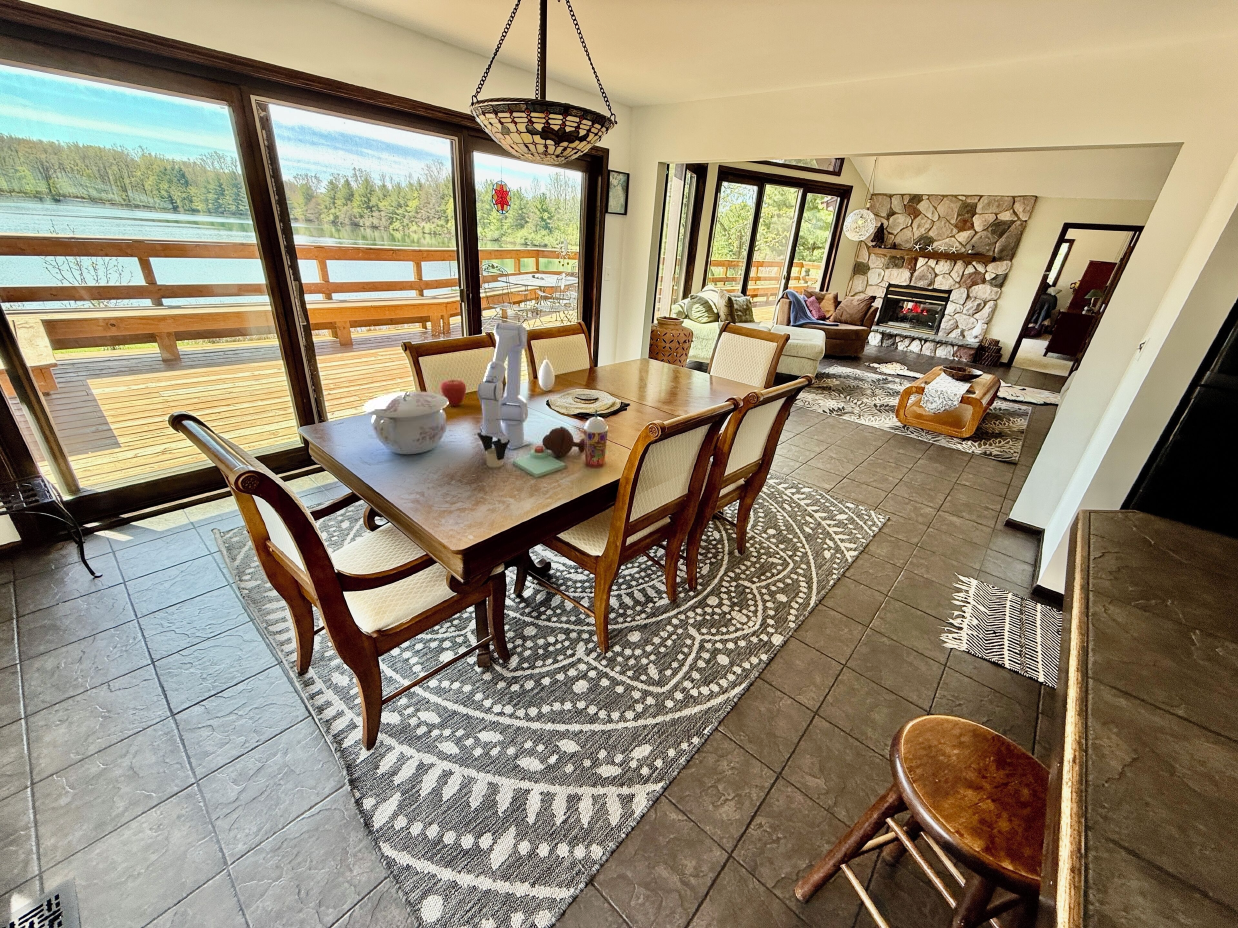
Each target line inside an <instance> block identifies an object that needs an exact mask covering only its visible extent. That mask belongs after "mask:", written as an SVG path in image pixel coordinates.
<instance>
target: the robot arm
mask: <svg viewBox="0 0 1238 928" xmlns="http://www.w3.org/2000/svg"><path fill="white" fill-rule="evenodd" d="M493 332H494V339H495V342H496V345H495V351H494V354H493V355H494V356H493V360H492V361H490V362H489V363H488V364H487V368H486V372H485V374H484V378H483V381H482V382H480V383H479V384H478V387H477V397H478V399H479V404H480V405H481V411H482V423H481V424H478V429H479V431H480V432H477V437H478V438H479V440H480V441H481V444H482V446H483V450H484V453H486V451H487V450H488V449H491V448H495V451H496V456H497V460H502V459H503V460H504V459H505V455H506V451H507V448H508V449H509V450H514V449H517V448H521V447H525V446H528V445H530V442H528V441H526V440H525V429H524V427H525V426H524V423H526V421H527V419H528V416H529V410H528V402H527V400H525V398H523V397H522V396H521V379H522V376H521V375H522V357H523V350H526V348H527V345H528V331H527V327H526V325H525V324H524V323H521V324H518V323H506V322H505V323H504V322H499V321H497V323H496V324H495V326H494V329H493ZM506 361H507V362H506ZM505 363H507V364H506V365H507V366H505ZM505 374H506V392H505V396H503V388H504V384H503V382H504V377H505ZM494 438H495V439H496V440H494Z"/></svg>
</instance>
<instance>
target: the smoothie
mask: <svg viewBox="0 0 1238 928" xmlns="http://www.w3.org/2000/svg"><path fill="white" fill-rule="evenodd" d="M608 432H609V426H608V424H607V422H605V420H604V419H603V418H602V417H599V416H598V409H595V410H594V416H593V417H590V418H588V419H587V420H586V422H585V424H584V425H583V438H584V443H585V450H584V460H585V463H586V465H587V466H588V467H592V468H599V467H602V466H603V465H604V463H605V462H606V451H607V441H608Z"/></svg>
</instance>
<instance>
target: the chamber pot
mask: <svg viewBox="0 0 1238 928" xmlns="http://www.w3.org/2000/svg"><path fill="white" fill-rule="evenodd" d="M448 403H449V401H448V399H447V398H446V397H444V396H443V394H439V393H436V392H429V391H419V390H418V391H417V390H416V391H412V390H411V391H410V390H409V391H408V390H407V391H399V392H392V393H387V394H383V395H379V396H377V397H375V398H372V399H370V400H368V401H367V402H366V403H364V406H363V411H365V412H366V413H367V414H369V415H371V419H370V423H371V429H372V431H373V434H374V435H375V438H376V439H377V440H378V441H379V442H380V443H381V444H382V445H383V446H384V447H385V448H386V449H387V450H388V451H390V452H391V453H394V454H400V455H417V454H422V453H425V452H428V451H432V450H433V449H435V448H436V447H437V446H438V445H439V444H440V443H441V441H442V439H443V437H444V436H445V434H446V431H447V422H448V421H447V414H446V411H445V410H444V409H445V408H446V407H447V406H448V405H449V404H448Z"/></svg>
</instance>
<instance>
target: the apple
mask: <svg viewBox="0 0 1238 928" xmlns="http://www.w3.org/2000/svg"><path fill="white" fill-rule="evenodd" d="M439 387H440V392H441V395H443V396H444V397H446V398H447V399H448V401H449V403H448V405H450V406H451V407H457V406H459V405H460V404H462V403H463V401H464V398H465V396H466V392H467V387H466V383H464V381H462V380H459V379H448V380H444V381H442V382H441V383H440V385H439Z"/></svg>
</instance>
